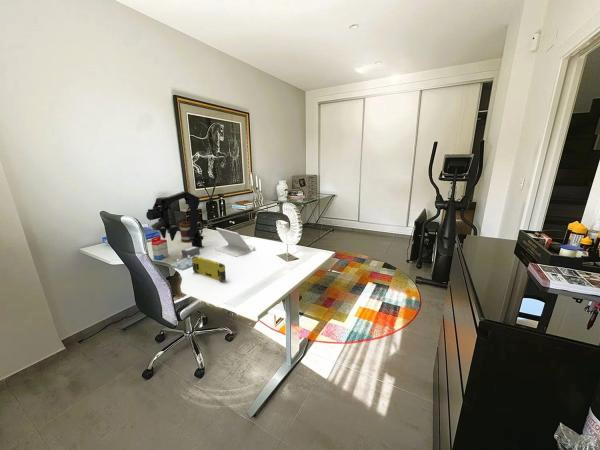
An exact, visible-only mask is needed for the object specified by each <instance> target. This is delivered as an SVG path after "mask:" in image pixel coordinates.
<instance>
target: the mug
mask: <svg viewBox="0 0 600 450" xmlns="http://www.w3.org/2000/svg"><path fill="white" fill-rule="evenodd" d="M199 224H200V229H199V230H200V235H203V232H204V231H203V223H202V222H201V221H197V226H199ZM189 229H190V220H189V221H182V222H180V223H179V232H180V233H179V234H180V238H181V239H180V241H181V243H187V244H188V243H192V240H190V238H189V237H188V235H187V230H189Z"/></svg>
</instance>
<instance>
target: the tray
mask: <svg viewBox="0 0 600 450" xmlns="http://www.w3.org/2000/svg"><path fill="white" fill-rule="evenodd" d="M196 256H198V257H199V254H198V255H195V256H192V257H190V255H188V258H186V259H184V260H182V261H180V259H179V258H176V263H173V264H171V267H172V268H175V269H177V270H180V271H186V270H187V269H189V268H193V265H192V258H193V257H196Z"/></svg>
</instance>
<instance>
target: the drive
mask: <svg viewBox="0 0 600 450" xmlns="http://www.w3.org/2000/svg"><path fill="white" fill-rule="evenodd" d="M181 254H182V255H181V257H182V258H185V259H188V255H190V258H192V257H195V256H196V255H198V256H199V255H200V254H201V252H200V248H199V247H195V246H193V247H192V246H190V247H188V248H184V249H182V250H181Z"/></svg>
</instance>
